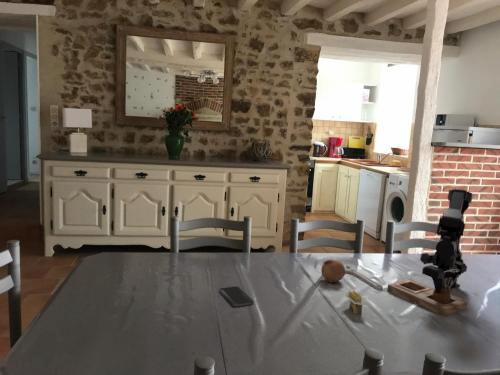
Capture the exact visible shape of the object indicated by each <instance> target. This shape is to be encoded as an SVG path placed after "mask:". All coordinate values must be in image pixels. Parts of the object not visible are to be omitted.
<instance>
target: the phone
mask: <svg viewBox="0 0 500 375" xmlns="http://www.w3.org/2000/svg"><path fill="white" fill-rule="evenodd" d="M219 293H220V294H221V295H222V296H223V297H224V298H225V299H226V300H227V302H228V303H229V304H230V305H231V306H232V307H234V308H238V307H246V306H252V305H254V302H255V301H254V300H253V299H252V298H251V297H250V296H249V295H248V294H247V293H246V292H245V291H244V290H242V288H241V287H240V286H227V287H220V288H219Z"/></svg>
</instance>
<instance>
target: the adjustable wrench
mask: <svg viewBox="0 0 500 375" xmlns="http://www.w3.org/2000/svg"><path fill="white" fill-rule="evenodd" d="M345 274H350V275H352V276H353V275H354V276H355V278H358V279H360V280H361V281H363V282H364V283H365V284H367V285H369V286H371V287H373V288H374V289H375V290H378V291H382V290H383V288H384V286H383V285H381V284H380V283H378V282H376V281H374V280H373V279H371V278H370V277H368V276H366V275H364V274H362V273H361V272H359V271H358V270H357V268H356V267H355V266H353V265H346V266H345Z"/></svg>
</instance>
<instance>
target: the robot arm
mask: <svg viewBox="0 0 500 375" xmlns="http://www.w3.org/2000/svg"><path fill="white" fill-rule="evenodd" d="M447 201H449V203H448V204H449V206H448V209H446V210H445V211H443V213H442V215H441V217H439V219H438V226H437V230H436V236H440V237H439V241H438V242H437V244H436V245H435V252H434V253H430V254H429V253H428V252H424V253H421V255H420V259H419V260H420V262H421V263H423V265H426V264H427V265H426V266H424V267H422V270H421V271H422V272H421V274H422V275H425V276H426V277H430V278H431V279H432V282H433V286H434V287H433V288H434V289H435V291H436V293H439V292H440V291H441V289H442V287H443V285H446V286H447V285H448V287H449V286H450V289H453V288H456V287H457V288H458V287H460V286H461V284H459V283H457V282H458V279H459V277H460V276H461V275H462V274H464V273H467V270H468V266H467V265H466V263H465V262H464V259H463V253H462V251H461V249H460V242H461V238H462V237H463V236H464V233H465V228H466V224H465V221H464V216H465V215H464V214H465V212H466V211H467V210H468V209H469V207H470V204H472V203H473V202H472V201H473V193H472V192H470V191H468V190H466V189H463V188H456V187H455V188H452V189H449V190H448V194H447ZM428 264H431V265H428ZM449 277H450V278H449ZM449 280H450V281H449ZM451 280H452V282H453V283H451ZM446 281H447V282H446ZM445 283H446V284H445ZM448 283H449V284H448Z"/></svg>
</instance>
